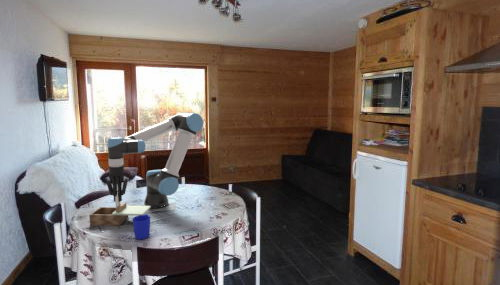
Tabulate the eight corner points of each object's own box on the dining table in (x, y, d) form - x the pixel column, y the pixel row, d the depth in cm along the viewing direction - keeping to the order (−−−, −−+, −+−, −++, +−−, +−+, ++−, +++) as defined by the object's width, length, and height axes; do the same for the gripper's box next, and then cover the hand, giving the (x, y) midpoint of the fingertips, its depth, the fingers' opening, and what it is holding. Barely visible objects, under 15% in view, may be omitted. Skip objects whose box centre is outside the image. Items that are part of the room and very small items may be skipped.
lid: (150, 207, 174) (150, 201, 174) (142, 215, 161) (142, 209, 161) (122, 206, 174) (122, 201, 174) (111, 215, 162) (111, 209, 161)
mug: (154, 230, 158) (154, 212, 157) (147, 240, 146) (147, 221, 145) (139, 230, 158) (138, 212, 156) (130, 240, 146) (130, 221, 144)
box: (128, 217, 175) (128, 207, 174) (119, 225, 163) (118, 215, 162) (101, 216, 175) (100, 207, 174) (90, 225, 163) (89, 214, 162)
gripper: (130, 164, 168) (132, 205, 171) (107, 164, 168) (109, 204, 172) (125, 167, 161) (126, 209, 164) (101, 166, 161) (103, 209, 164)
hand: (118, 207), depth 168 cm, fingers closed
